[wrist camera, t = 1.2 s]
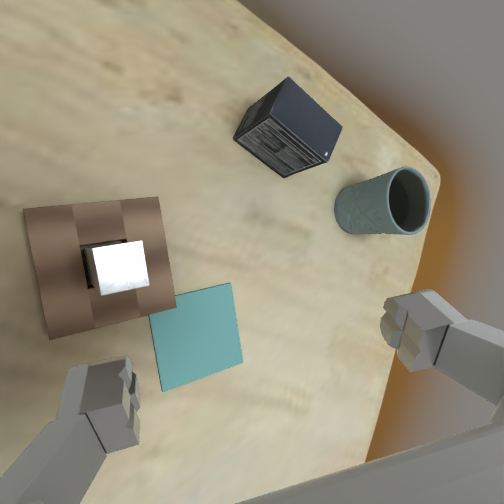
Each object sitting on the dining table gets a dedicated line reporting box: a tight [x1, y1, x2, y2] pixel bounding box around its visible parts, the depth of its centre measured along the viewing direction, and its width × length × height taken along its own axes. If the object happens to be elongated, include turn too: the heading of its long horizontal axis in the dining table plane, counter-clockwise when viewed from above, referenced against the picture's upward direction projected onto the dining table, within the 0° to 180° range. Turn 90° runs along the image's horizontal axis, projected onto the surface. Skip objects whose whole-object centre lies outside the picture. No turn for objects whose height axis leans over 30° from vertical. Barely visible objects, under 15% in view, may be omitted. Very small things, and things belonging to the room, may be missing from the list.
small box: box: [233, 77, 343, 178], centre depth 48 cm, size 11×6×10 cm, turn 62°
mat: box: [149, 283, 243, 392], centre depth 47 cm, size 12×12×1 cm
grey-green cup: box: [334, 167, 431, 235], centre depth 56 cm, size 10×10×12 cm
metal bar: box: [84, 241, 149, 296], centre depth 35 cm, size 4×4×14 cm
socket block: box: [23, 197, 177, 340], centre depth 40 cm, size 14×14×3 cm
